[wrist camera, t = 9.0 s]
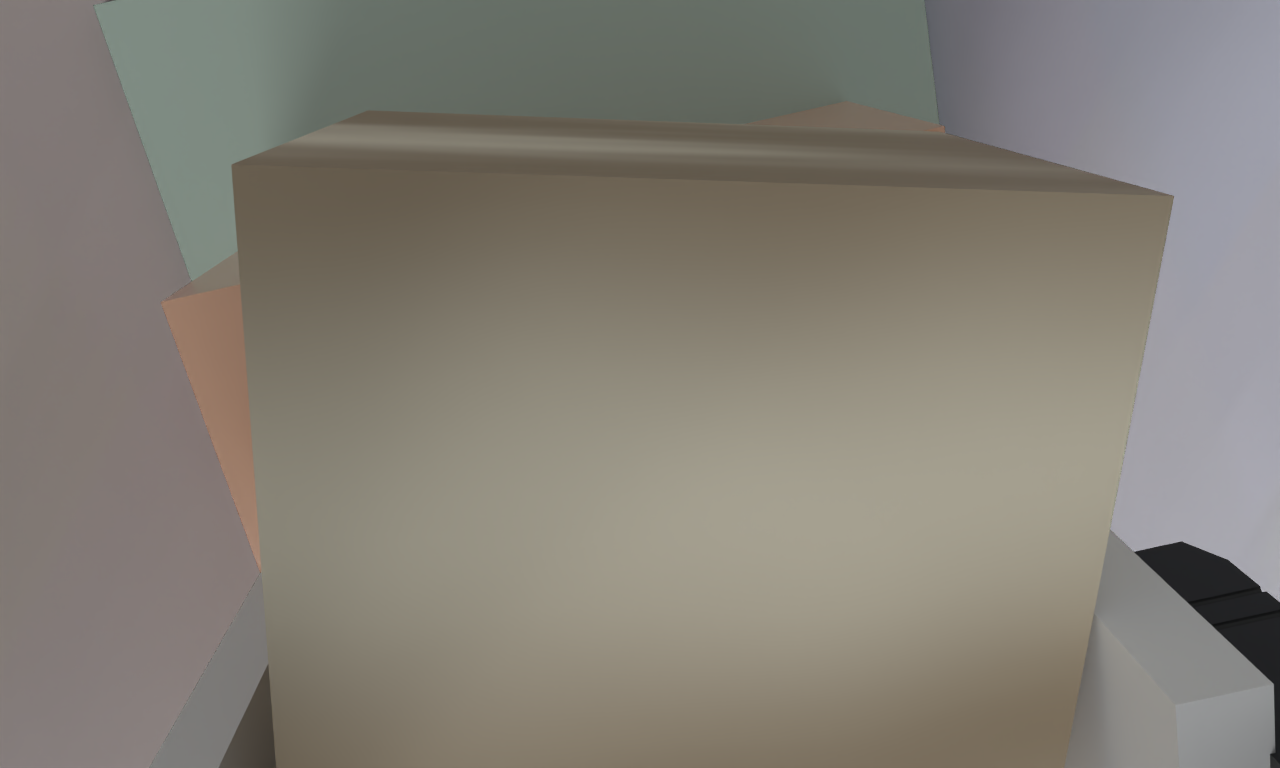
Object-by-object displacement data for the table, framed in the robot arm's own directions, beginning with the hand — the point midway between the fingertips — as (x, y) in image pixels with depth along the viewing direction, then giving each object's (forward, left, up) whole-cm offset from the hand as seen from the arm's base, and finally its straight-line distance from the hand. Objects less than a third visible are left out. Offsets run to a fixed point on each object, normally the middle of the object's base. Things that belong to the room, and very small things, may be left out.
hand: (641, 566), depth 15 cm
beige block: (0, 0, 0) cm, 0 cm away
